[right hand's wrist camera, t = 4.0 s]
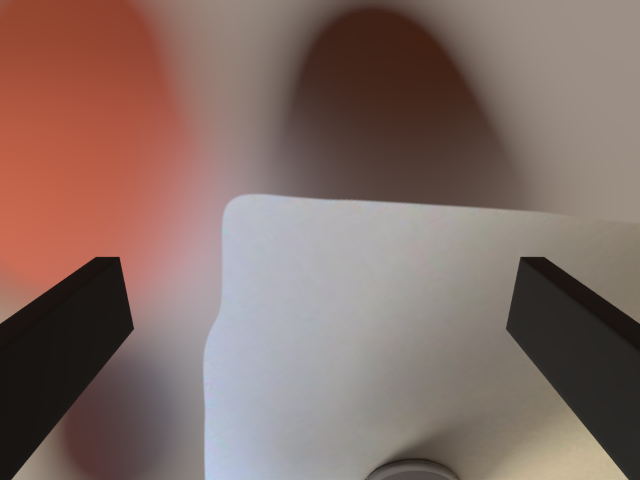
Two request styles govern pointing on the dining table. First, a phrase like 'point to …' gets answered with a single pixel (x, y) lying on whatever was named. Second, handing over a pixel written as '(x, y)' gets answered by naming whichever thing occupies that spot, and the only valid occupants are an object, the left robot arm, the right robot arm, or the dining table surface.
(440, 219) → the dining table surface
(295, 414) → the dining table surface
